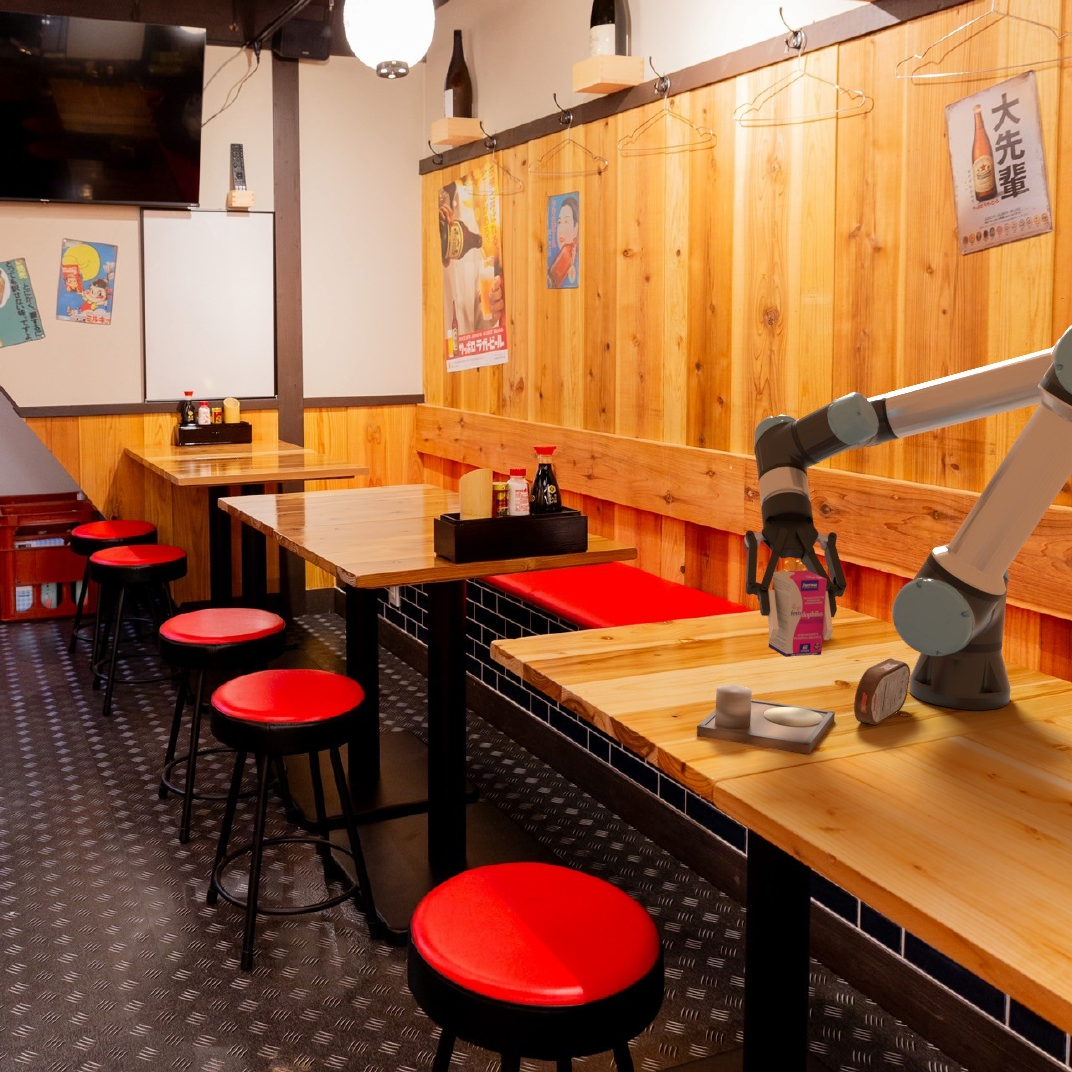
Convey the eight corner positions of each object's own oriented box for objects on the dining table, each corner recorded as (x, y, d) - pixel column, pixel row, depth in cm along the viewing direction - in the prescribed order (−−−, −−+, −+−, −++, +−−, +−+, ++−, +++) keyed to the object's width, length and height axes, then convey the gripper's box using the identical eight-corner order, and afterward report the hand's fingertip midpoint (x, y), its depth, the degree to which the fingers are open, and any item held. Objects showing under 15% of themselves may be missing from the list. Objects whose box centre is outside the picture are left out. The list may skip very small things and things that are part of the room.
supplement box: (786, 658, 165) (790, 579, 163) (767, 647, 171) (771, 570, 169) (823, 655, 167) (827, 577, 165) (803, 645, 172) (807, 569, 170)
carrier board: (834, 720, 173) (836, 680, 172) (809, 754, 158) (811, 710, 157) (729, 704, 179) (731, 665, 178) (696, 735, 165) (698, 693, 164)
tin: (891, 704, 181) (895, 652, 180) (911, 708, 179) (915, 655, 178) (850, 728, 170) (853, 672, 168) (871, 733, 168) (874, 676, 166)
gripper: (845, 520, 181) (865, 649, 167) (717, 517, 181) (727, 646, 168) (856, 490, 174) (878, 622, 161) (723, 488, 175) (734, 619, 162)
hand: (801, 634), depth 165 cm, fingers closed on supplement box, 7 cm apart
